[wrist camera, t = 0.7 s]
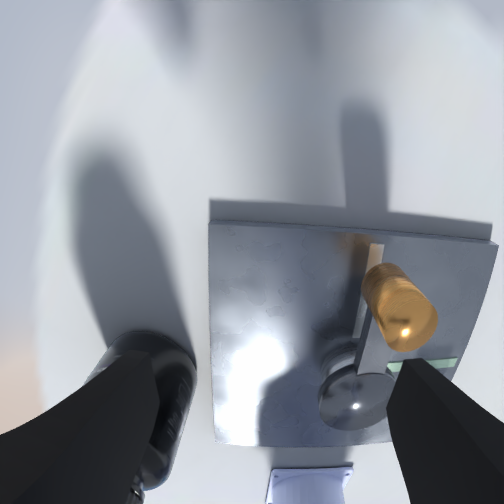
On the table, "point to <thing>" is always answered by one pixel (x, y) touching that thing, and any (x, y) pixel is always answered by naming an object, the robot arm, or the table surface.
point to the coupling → (377, 349)
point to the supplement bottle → (170, 408)
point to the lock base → (320, 319)
